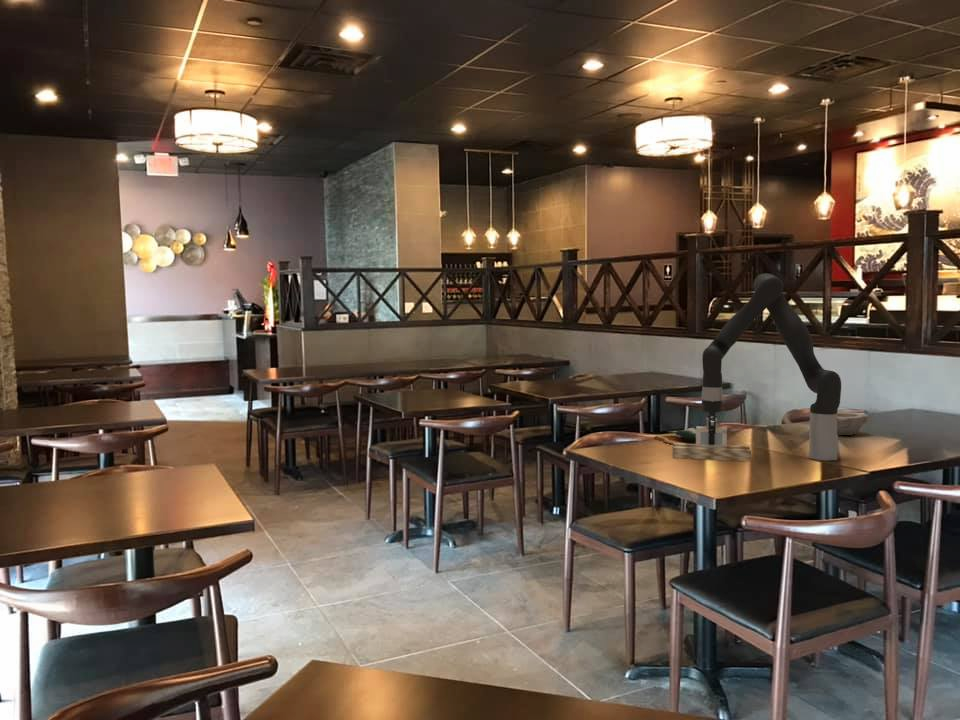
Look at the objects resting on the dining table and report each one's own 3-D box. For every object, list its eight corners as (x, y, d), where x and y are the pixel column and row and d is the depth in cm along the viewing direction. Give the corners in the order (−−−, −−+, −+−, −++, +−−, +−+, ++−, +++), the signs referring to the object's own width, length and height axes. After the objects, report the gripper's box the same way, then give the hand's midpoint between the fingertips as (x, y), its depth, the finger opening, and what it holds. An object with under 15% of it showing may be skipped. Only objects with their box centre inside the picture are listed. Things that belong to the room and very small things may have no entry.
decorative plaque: (732, 431, 300) (690, 434, 293) (732, 449, 301) (690, 453, 294) (687, 420, 329) (647, 423, 322) (686, 436, 329) (647, 439, 322)
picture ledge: (749, 456, 284) (749, 446, 284) (751, 461, 275) (751, 450, 275) (673, 453, 292) (673, 443, 292) (672, 458, 283) (672, 447, 282)
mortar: (813, 432, 334) (813, 412, 334) (842, 430, 340) (843, 410, 339) (842, 439, 318) (842, 417, 318) (873, 436, 324) (873, 415, 323)
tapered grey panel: (726, 448, 284) (726, 427, 283) (726, 449, 281) (726, 428, 280) (695, 447, 286) (696, 426, 286) (696, 448, 284) (696, 427, 283)
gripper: (701, 396, 290) (700, 440, 291) (702, 400, 276) (701, 447, 278) (721, 396, 288) (720, 441, 289) (723, 401, 274) (722, 447, 276)
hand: (711, 443), depth 283 cm, fingers closed on tapered grey panel, 2 cm apart
